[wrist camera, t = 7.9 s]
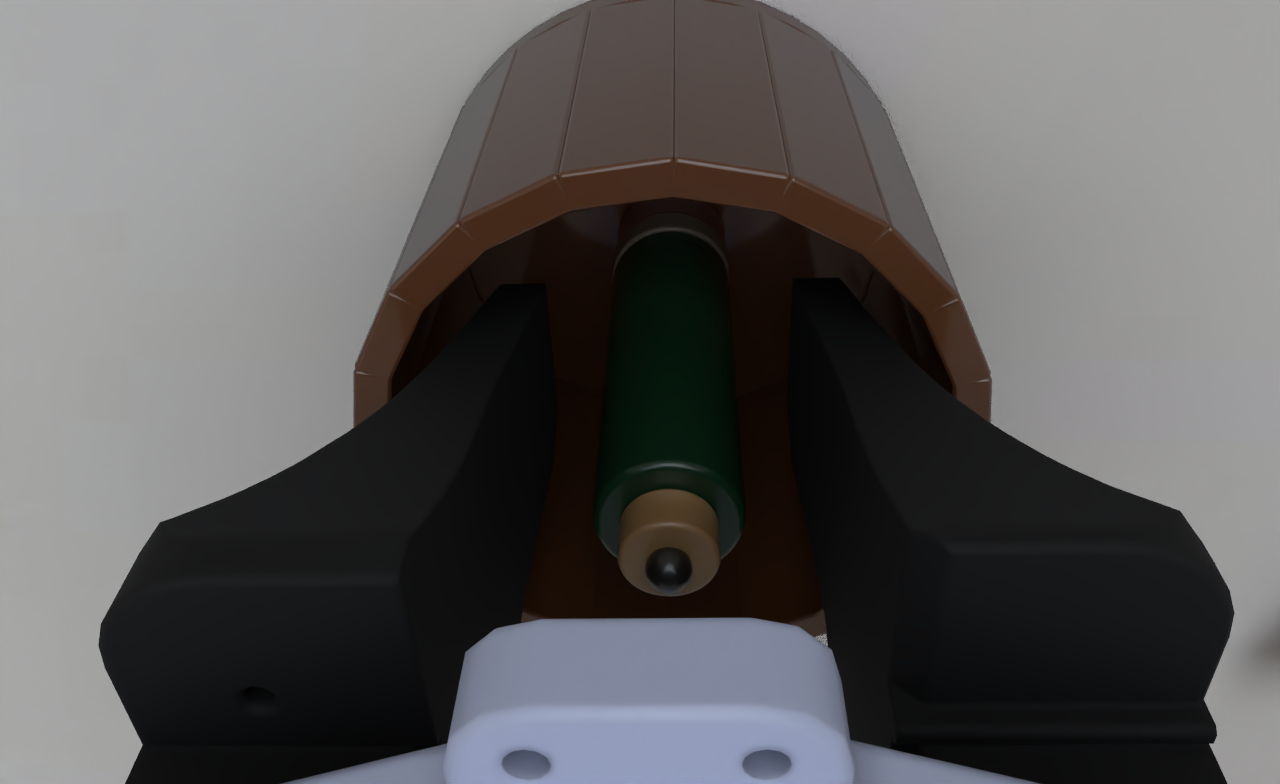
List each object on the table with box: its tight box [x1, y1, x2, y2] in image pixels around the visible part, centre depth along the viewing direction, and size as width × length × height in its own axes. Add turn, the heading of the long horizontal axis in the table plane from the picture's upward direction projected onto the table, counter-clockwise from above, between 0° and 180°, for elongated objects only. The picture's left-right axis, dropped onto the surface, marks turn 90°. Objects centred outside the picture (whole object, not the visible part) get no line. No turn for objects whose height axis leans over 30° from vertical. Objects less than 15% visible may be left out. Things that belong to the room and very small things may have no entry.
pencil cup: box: [354, 0, 992, 637], centre depth 16 cm, size 8×8×6 cm
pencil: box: [593, 197, 746, 596], centre depth 14 cm, size 2×2×8 cm
